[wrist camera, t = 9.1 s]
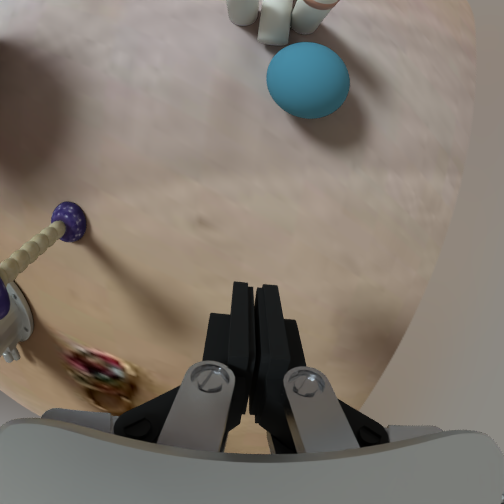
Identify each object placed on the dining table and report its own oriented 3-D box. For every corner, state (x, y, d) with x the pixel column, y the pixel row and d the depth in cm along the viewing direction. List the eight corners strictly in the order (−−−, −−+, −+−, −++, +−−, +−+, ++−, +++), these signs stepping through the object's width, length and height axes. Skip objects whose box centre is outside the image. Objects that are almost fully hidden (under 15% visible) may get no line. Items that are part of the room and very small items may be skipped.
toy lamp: (95, 237, 26) (-12, 346, 10) (65, 251, 26) (-33, 350, 11) (76, 194, 24) (-53, 275, 8) (47, 211, 24) (-68, 291, 9)
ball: (331, 62, 20) (299, 117, 23) (275, 27, 17) (240, 90, 20) (379, 76, 16) (340, 142, 19) (319, 28, 13) (274, 108, 15)
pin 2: (316, 37, 18) (348, 0, 11) (287, 31, 18) (305, -10, 11) (318, 14, 17) (349, -28, 10) (290, 8, 17) (308, -38, 10)
